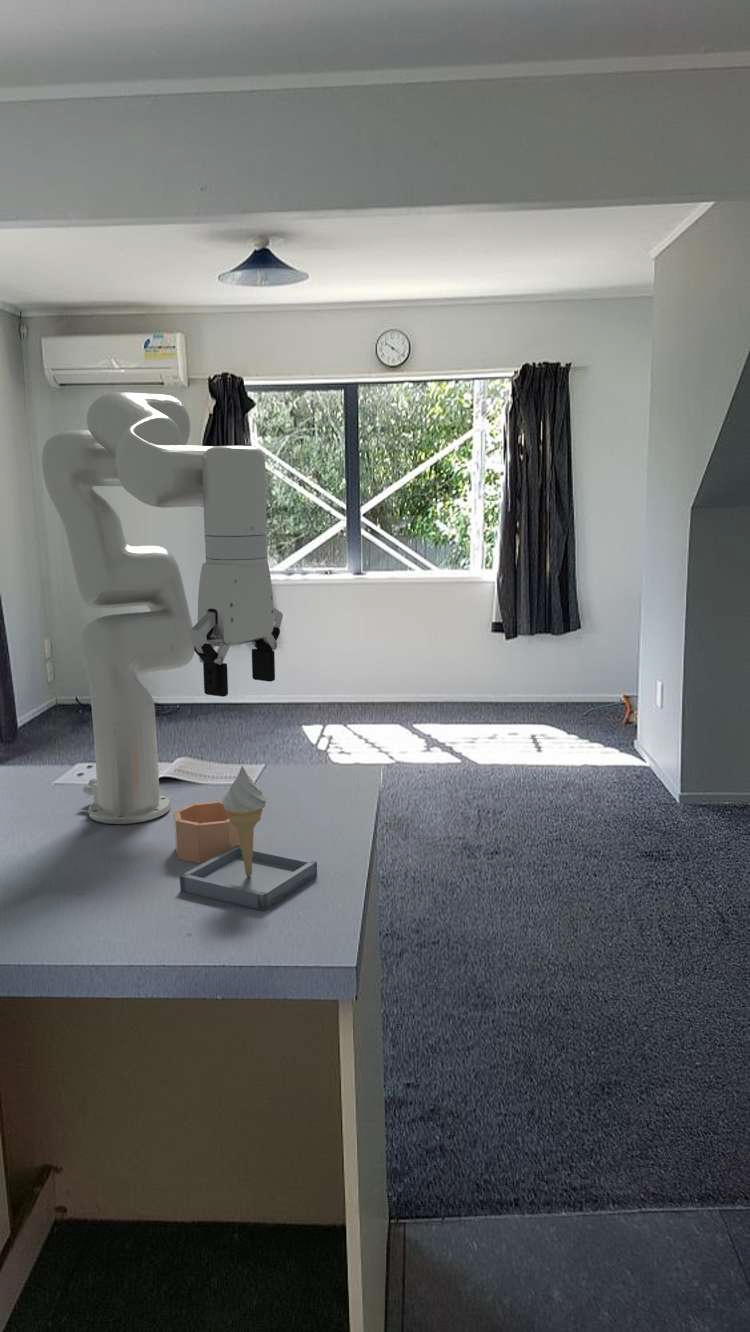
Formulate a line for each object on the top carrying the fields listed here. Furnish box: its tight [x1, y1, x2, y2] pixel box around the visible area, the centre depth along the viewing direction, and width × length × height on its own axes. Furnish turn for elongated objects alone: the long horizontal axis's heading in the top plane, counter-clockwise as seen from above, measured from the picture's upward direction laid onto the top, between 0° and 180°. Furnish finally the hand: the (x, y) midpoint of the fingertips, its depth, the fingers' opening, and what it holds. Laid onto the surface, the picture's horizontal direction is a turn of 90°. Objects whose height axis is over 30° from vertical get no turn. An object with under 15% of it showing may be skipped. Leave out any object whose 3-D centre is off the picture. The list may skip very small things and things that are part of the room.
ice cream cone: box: [221, 765, 267, 878], centre depth 123 cm, size 6×6×15 cm
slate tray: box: [179, 845, 318, 912], centre depth 124 cm, size 13×12×2 cm
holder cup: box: [173, 800, 241, 865], centre depth 135 cm, size 10×10×6 cm
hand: (240, 687), depth 120 cm, fingers open, 9 cm apart
